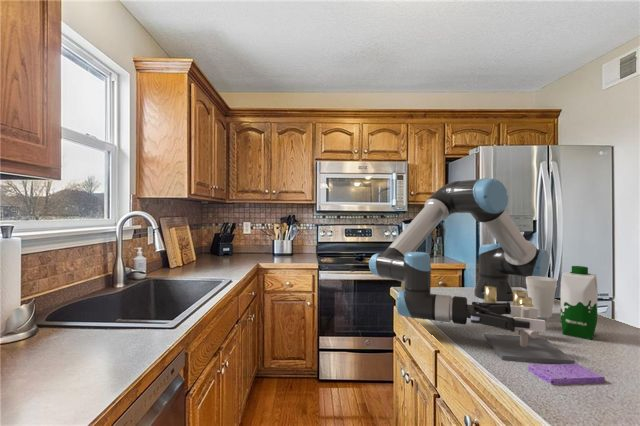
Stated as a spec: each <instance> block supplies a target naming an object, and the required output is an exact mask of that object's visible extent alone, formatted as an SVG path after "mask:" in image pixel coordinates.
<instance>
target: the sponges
mask: <svg viewBox="0 0 640 426" xmlns="http://www.w3.org/2000/svg"><path fill="white" fill-rule="evenodd" d="M527 371H529V372H531V373H532V374H533V375H535V376H536V377H538V378H540V379H541V378H542V379H541V380H543V381H544V380H545V381H544V382H546V381H547V382H548V384H549V383H550V384H549V385H551V384H553V385H571V384H572V385H574V384H576V385H579V383H582V384H602V383H604V381H605V380H606V379H605V378H606V377H605V376H603V375H602V374H600V373H597V372H595V371H593V370H590V369H588V368H586V366H585V367H584V366H582V365H581V364H579V363H574V364H555V363H550V364H549V363H545V364H544V363H543V364H541V363H539V364H534V363H533V364H532V363H530V364H527ZM547 382H546V383H547Z"/></svg>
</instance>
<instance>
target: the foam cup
mask: <svg viewBox="0 0 640 426" xmlns="http://www.w3.org/2000/svg"><path fill="white" fill-rule="evenodd" d="M525 285H526V292H527V297H530V298H532V305H534V306H535V307H534V308H538V318H539V317H540V318H551V317H552V314H553V308H554V303H555V296H556V292H557V291H556V290H557V287H558V280H557V279H556V278H553V277H548V276H544V277H540V276H528V277H525Z"/></svg>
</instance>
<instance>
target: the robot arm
mask: <svg viewBox="0 0 640 426" xmlns="http://www.w3.org/2000/svg"><path fill="white" fill-rule="evenodd" d="M507 193H508V189H507V188H506V186H505V185H504V183H503V182H502V181H500V180H499V179H496V178H485V177H483V178H478V179H467V180H455V181H452V182H449V183H446V184H445V185H443V186H441V187H440V188H438V189H437V190H435V192H434V193H432V195H430V196H429V197H428V198H427V200H425V202H424V207H423V208H422V209H421V210H420V211H419V213H418V214H417V215H416V216H415V217H414V218H413V219H412V220H411V222H410V223H409V224H407V226H406V227H405V228H404V229H403V230H402V231H401V233H399V235H398V236H397V237H396V238H395V239H394V240H393V242H392V243H391V244H390V245H389V246H388V247H387V249H386V250H384V252H383V253H381V252H380V253H375V254H373V255H371V257H370V259H369V261H368V267H369V270H370V273H372V275H374V276H377V277H381V278H384V279H388V280H389V279H390V280H394V281H395V280H396V281H398V282H402V281H403V282H404V284H405V286H404V287H405V288H404V291H402V290H400V291H399V292H398V293H397V296H396V311H397V314H398V315H399V316H401V317H406V318H411V319H419V320H427V321H428V320H429V321H435V322H436V321H437V322H439V324H443V323H444V322H445V323H451V321H452V323H453V324H457V325H458V324H459V325H467V323H468V322H467V321H468V319H470V323H472V324H479V325H483V326H488V327H493V328H497V329H501V330H504V329H505V330H504V331H508V332H509V331H510V332H511V333H515V332H516V331H515V329H523V330H531V331H536V332H539V333H540V332H541V333H546V331H545V326H546V320H544V319H539V317H538V308H531V307H524V308H528V309H529V318H534V319H529V318H520V317H521V308H523V307H521V306H513V304H511V302H510V301H513V291H514V290H513V289H512V285H511V283H510V276H516V277H522V278H526V277H528V276H540V277H546V275H547V272H548V271H549V267H550V266H549V265H550V255H549V253H548V251H547V250H546V249H543V248H540V249H539V248H537V247H536V245H535V244H534V243H533V242H532V241H529V240H527V239H526V238H525V237H524V235H523V234H522V232H521V231H520V230H519V228H518V226H517V225H516V223H515V222H514V221H513V219H512V218H511V216H510V214H509V213H508V212H507V211H506V209H507V206H508V203H509V195H508V194H507ZM457 213H459V214H460V213H461V214H462V213H463V214H466V213H467V214H470V215H471V217H472V218H474V219H475V221H476V222H479V223H482V224H483V225H484V226H485V227H486V228H487V230H488V231H489V233H490V234H491V235H492V237H493V238H494V239H495V240H496V242H497V243H488V244H482V245H480V246H479V249H478V279H477V282H476V286H475V288H474V296H475V297H478V298H481V299H484V300H485V286H495V287H497V301H500V302H497V303H485V302H478V301H472V302H471V304H468V299H467V297H466V296H457V295H454V296H453V297H452V296H451V295H449V294H438V293H437V294H436V293H432V292H431V284H432V283H431V281H432V280H431V279H432V266H431V264H432V263H431V255H430V254H429V253H428V252H424V251H423V252H422V251H417V250H418V248H419V247H420V246H422V244H423V242H424V241H425V240H427V238H428V237H429V235H430V234H431V233H432V232H433V230H435V228H436V227H437V226H438V225H439V224H440V222H441V221H444V220H446V219H448V217H449V216H450V215H452V214H453V215H454V214H457ZM501 301H502V302H501ZM503 301H505V302H503ZM506 301H507V302H506ZM507 315H510V316H512V317H510V316H507ZM513 316H519V317H515V319H514V317H513Z"/></svg>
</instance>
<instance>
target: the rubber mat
mask: <svg viewBox="0 0 640 426" xmlns="http://www.w3.org/2000/svg"><path fill="white" fill-rule="evenodd" d="M482 337H483V339H484V340H485V341H486V342H487V344H488V345H489V346H490V347H491V348H492V350H494V352H495V353H496V354H497V355H498V357H500V358H501V360H502V361H504V360H505V361H513V362H514V361H517V362H530V363H540V364H541V363H543V364H544V363H545V364H555V363H557V364H558V365H560V364H561V365H562V364H575V360H574V359H573V358H571V357H570V356H569V355H568V354H566V353H565V352H564V351H562V350H561V349H559V348H558V347H557V346H555V345H554V344H553V343H552V342H550V341H549V340H547V338H545V337H544V336H538V337H537V338H532V337H530V336H528V347H522V346H520V335H513V334H512V335H511V334H510V335H509V334H496V333H495V334H494V333H482Z"/></svg>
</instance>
